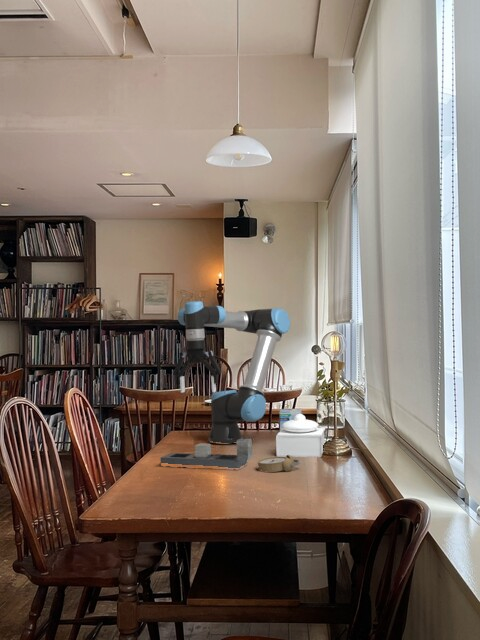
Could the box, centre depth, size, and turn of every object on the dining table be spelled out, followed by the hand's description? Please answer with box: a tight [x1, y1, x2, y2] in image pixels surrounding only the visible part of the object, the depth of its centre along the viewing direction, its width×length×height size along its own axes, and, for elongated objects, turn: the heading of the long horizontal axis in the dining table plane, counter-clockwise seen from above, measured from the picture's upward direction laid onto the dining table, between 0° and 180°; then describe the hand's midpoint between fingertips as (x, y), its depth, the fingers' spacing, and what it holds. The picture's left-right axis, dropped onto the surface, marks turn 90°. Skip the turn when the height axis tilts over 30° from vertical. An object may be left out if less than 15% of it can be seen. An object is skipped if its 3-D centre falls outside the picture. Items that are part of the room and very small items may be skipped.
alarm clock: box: [255, 455, 300, 473], centre depth 223 cm, size 11×5×15 cm
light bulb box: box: [279, 408, 303, 432], centre depth 304 cm, size 11×7×11 cm, turn 80°
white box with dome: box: [275, 413, 326, 458], centre depth 252 cm, size 18×18×16 cm
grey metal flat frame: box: [160, 452, 248, 468], centre depth 233 cm, size 10×31×4 cm, turn 70°
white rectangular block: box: [236, 438, 253, 460], centre depth 240 cm, size 4×4×8 cm
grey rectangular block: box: [194, 442, 212, 459], centre depth 232 cm, size 4×4×8 cm
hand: (198, 392), depth 252 cm, fingers open, 13 cm apart
